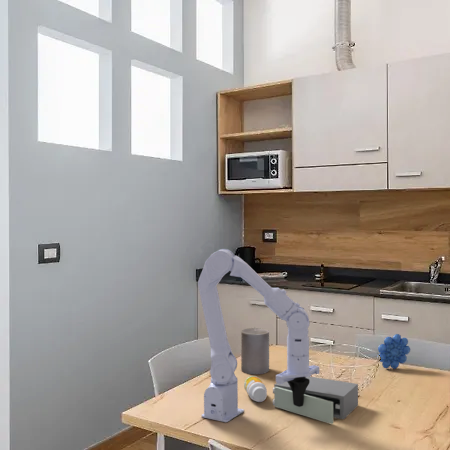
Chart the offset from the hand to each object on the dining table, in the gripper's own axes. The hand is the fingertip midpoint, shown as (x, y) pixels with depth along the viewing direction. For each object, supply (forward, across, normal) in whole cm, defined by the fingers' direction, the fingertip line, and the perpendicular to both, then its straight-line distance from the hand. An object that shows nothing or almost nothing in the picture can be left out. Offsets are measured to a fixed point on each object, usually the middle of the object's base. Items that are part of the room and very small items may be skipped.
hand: (298, 405), depth 142 cm
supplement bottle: (0, +3, +22) cm, 22 cm away
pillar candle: (+3, +20, +39) cm, 44 cm away
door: (+3, +1, 0) cm, 3 cm away
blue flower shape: (+3, +58, +11) cm, 59 cm away
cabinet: (+3, +10, +2) cm, 10 cm away
